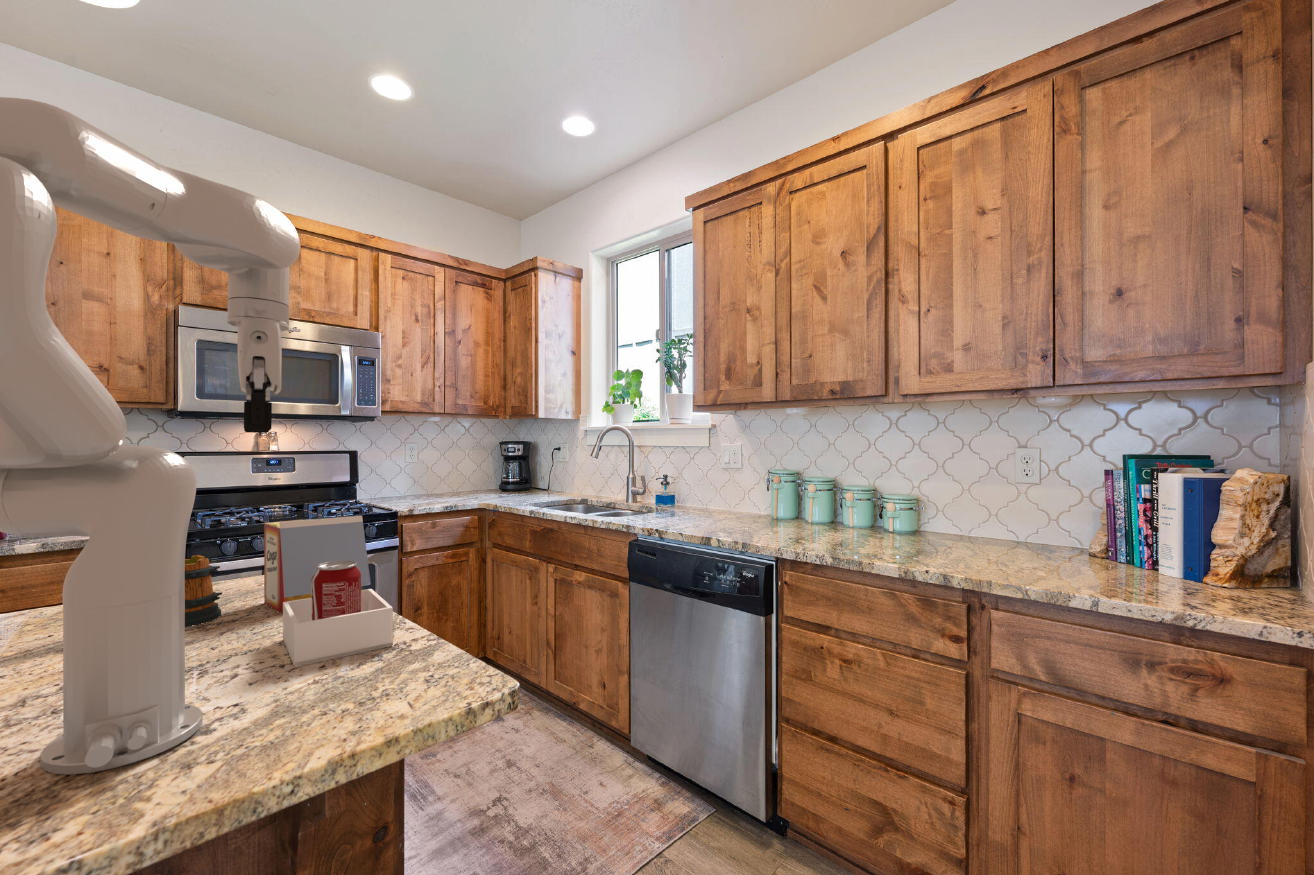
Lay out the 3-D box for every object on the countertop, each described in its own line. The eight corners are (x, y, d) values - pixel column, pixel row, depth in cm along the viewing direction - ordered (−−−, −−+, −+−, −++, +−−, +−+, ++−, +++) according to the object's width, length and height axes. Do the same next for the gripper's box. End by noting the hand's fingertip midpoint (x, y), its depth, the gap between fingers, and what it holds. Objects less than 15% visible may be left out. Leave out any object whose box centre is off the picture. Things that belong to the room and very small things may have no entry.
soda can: (367, 640, 90) (367, 564, 90) (319, 652, 85) (319, 571, 85) (352, 630, 94) (352, 557, 94) (305, 641, 89) (305, 564, 89)
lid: (362, 515, 105) (361, 516, 105) (279, 521, 97) (279, 523, 97) (370, 583, 99) (370, 584, 100) (284, 596, 92) (284, 597, 92)
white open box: (392, 646, 89) (392, 607, 89) (294, 667, 81) (294, 624, 81) (371, 623, 100) (371, 588, 100) (283, 639, 92) (283, 602, 92)
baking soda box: (264, 603, 112) (264, 521, 112) (301, 596, 117) (301, 517, 117) (279, 613, 105) (279, 526, 105) (318, 605, 110) (318, 522, 110)
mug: (214, 607, 109) (214, 547, 109) (230, 618, 102) (230, 554, 102) (121, 625, 99) (121, 558, 99) (133, 638, 92) (133, 567, 92)
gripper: (292, 308, 80) (290, 430, 80) (285, 329, 94) (284, 433, 94) (225, 300, 76) (223, 429, 75) (229, 324, 90) (227, 432, 90)
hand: (257, 431), depth 85 cm, fingers open, 9 cm apart
